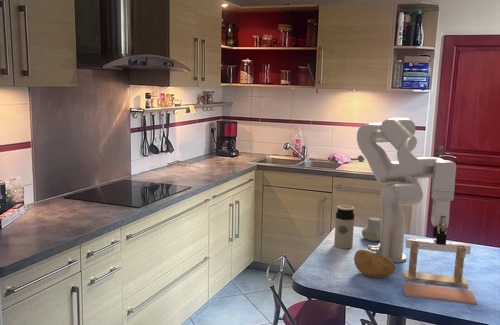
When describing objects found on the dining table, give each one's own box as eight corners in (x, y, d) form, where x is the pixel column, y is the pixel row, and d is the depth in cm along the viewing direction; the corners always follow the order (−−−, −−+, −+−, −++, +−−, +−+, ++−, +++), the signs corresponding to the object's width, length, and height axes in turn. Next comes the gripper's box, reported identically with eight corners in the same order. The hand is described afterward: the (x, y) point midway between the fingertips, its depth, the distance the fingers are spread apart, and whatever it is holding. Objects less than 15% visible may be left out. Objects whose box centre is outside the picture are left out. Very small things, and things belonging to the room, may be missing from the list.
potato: (388, 285, 172) (390, 261, 171) (349, 274, 182) (350, 251, 180) (397, 278, 179) (399, 254, 178) (358, 267, 188) (360, 245, 187)
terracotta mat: (404, 295, 165) (404, 293, 164) (403, 284, 174) (403, 282, 174) (477, 304, 159) (477, 302, 159) (471, 292, 169) (471, 290, 168)
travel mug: (338, 242, 219) (341, 203, 216) (355, 245, 214) (357, 206, 211) (331, 246, 212) (333, 207, 209) (347, 250, 208) (350, 210, 205)
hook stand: (403, 279, 178) (406, 242, 175) (402, 273, 184) (405, 237, 181) (467, 287, 173) (471, 248, 170) (464, 280, 178) (468, 243, 176)
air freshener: (388, 240, 223) (389, 219, 222) (380, 244, 217) (382, 223, 215) (366, 235, 230) (367, 214, 228) (358, 239, 224) (359, 218, 222)
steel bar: (406, 247, 177) (406, 239, 177) (405, 245, 180) (406, 237, 180) (470, 254, 172) (470, 246, 171) (468, 251, 175) (469, 243, 174)
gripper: (428, 189, 182) (425, 233, 184) (434, 199, 165) (430, 246, 168) (449, 190, 180) (446, 234, 182) (457, 200, 163) (453, 248, 166)
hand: (439, 240), depth 175 cm, fingers open, 9 cm apart
